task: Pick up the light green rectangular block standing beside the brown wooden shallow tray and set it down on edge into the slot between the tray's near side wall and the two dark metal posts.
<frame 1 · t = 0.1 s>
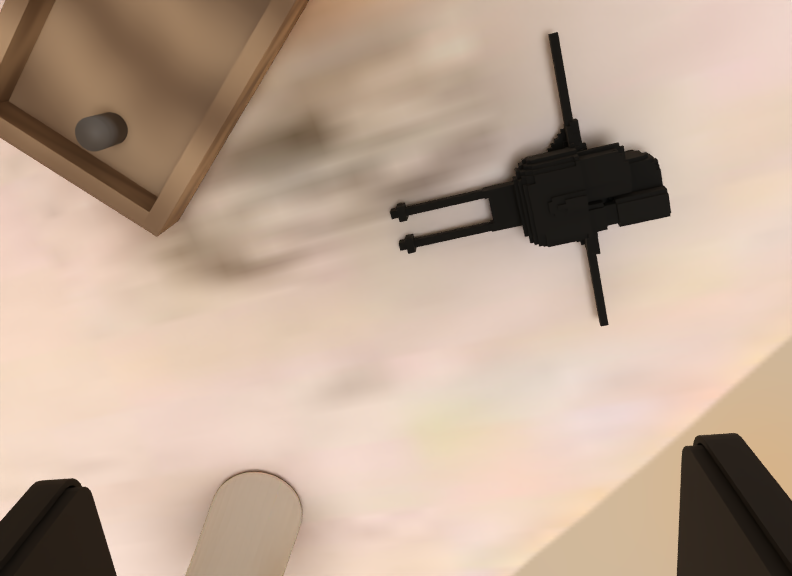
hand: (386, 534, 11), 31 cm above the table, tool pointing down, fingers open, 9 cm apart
toy 2: (264, 506, 49), on the table
toy: (518, 195, 41), on the table
brown wooden shallow tray: (151, 45, 38), on the table
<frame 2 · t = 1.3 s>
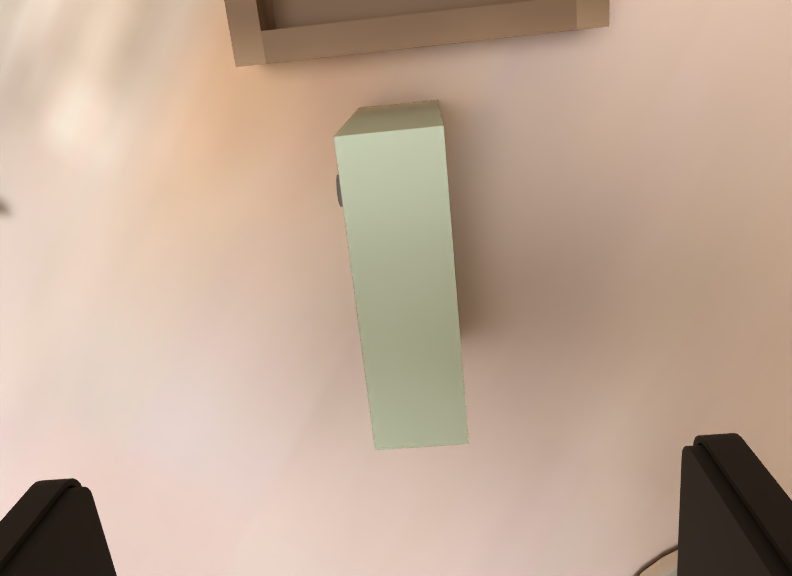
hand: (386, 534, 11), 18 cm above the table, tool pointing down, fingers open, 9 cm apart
light green rectangular block: (410, 230, 28), on the table
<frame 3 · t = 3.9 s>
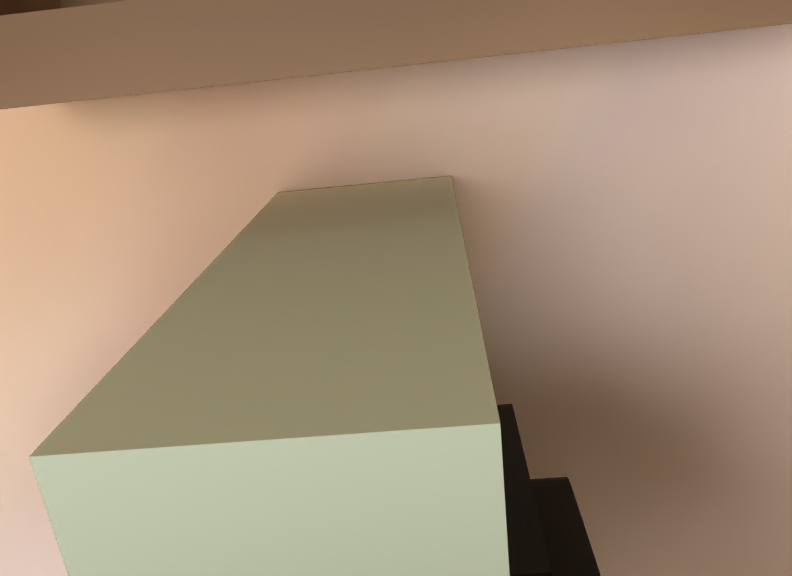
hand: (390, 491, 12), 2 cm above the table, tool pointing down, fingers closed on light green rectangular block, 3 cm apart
light green rectangular block: (394, 436, 13), on the table, touching gripper
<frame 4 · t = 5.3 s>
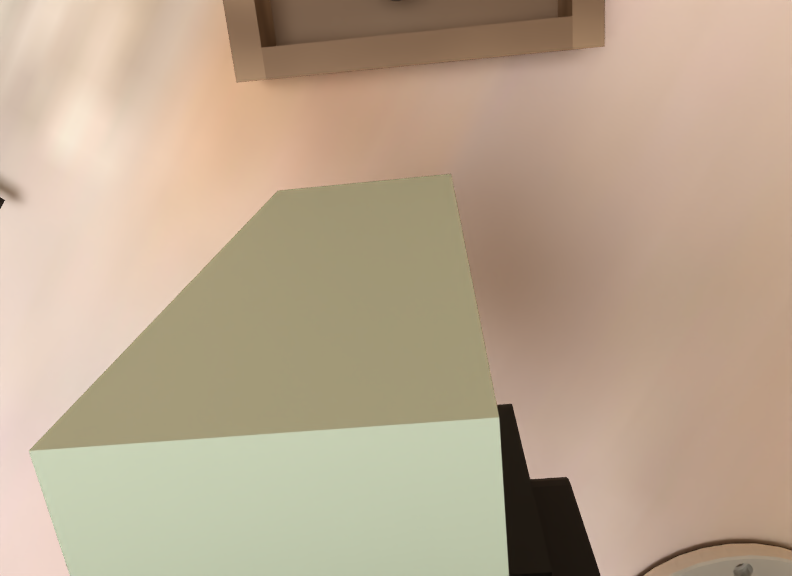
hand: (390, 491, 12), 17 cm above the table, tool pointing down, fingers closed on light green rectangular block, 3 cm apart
light green rectangular block: (394, 434, 13), point 15 cm above the table, touching gripper
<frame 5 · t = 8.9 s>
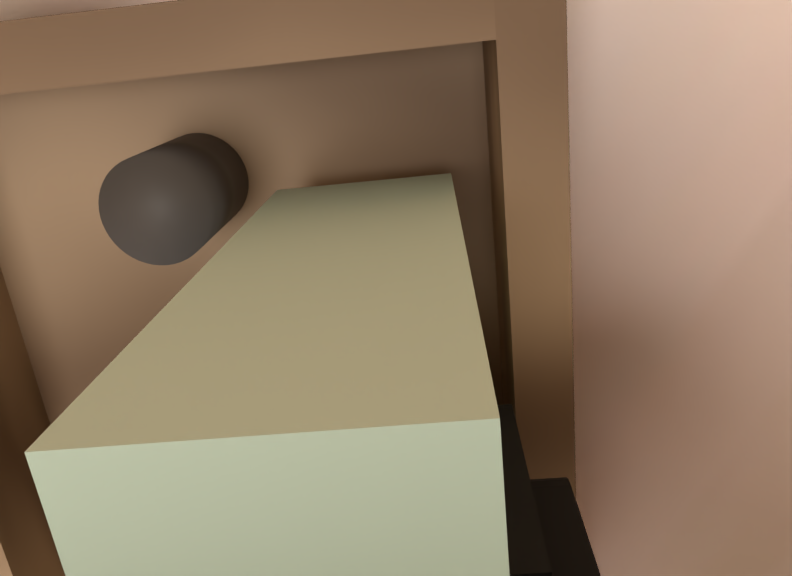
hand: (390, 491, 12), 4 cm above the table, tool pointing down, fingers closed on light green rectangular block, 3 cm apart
light green rectangular block: (394, 434, 13), point 2 cm above the table, touching gripper
brown wooden shallow tray: (279, 384, 16), on the table
when the fingers open (4 cm above the table, at t = 9.1 s): light green rectangular block drops 1 cm, resting on brown wooden shallow tray.
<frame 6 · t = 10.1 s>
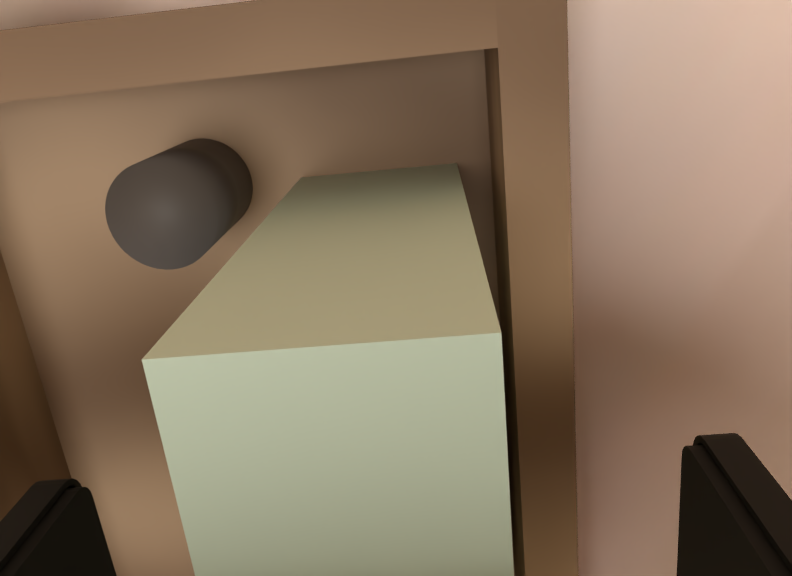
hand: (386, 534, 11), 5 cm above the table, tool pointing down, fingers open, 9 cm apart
light green rectangular block: (403, 400, 15), point 1 cm above the table, touching brown wooden shallow tray
brown wooden shallow tray: (282, 386, 16), on the table
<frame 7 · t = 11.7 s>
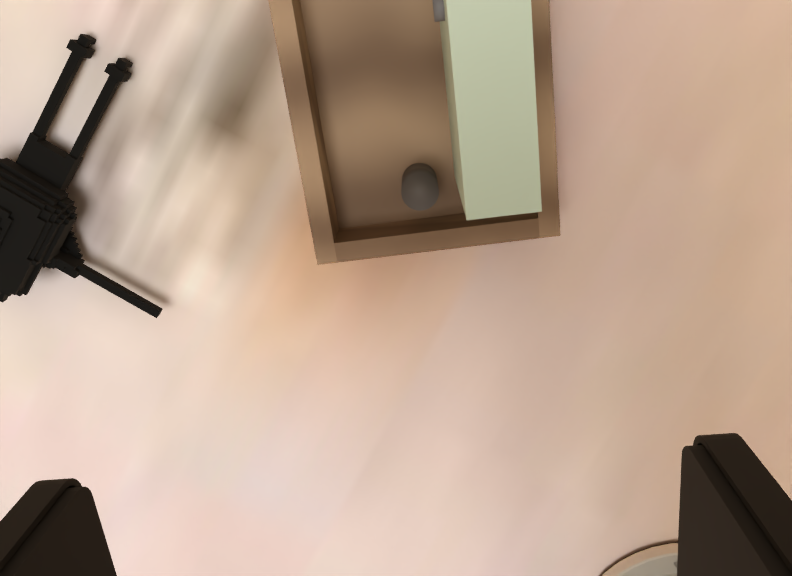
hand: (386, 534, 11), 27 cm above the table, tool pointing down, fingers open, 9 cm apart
toy: (55, 171, 37), on the table
light green rectangular block: (475, 70, 33), point 1 cm above the table, touching brown wooden shallow tray
brown wooden shallow tray: (417, 76, 34), on the table
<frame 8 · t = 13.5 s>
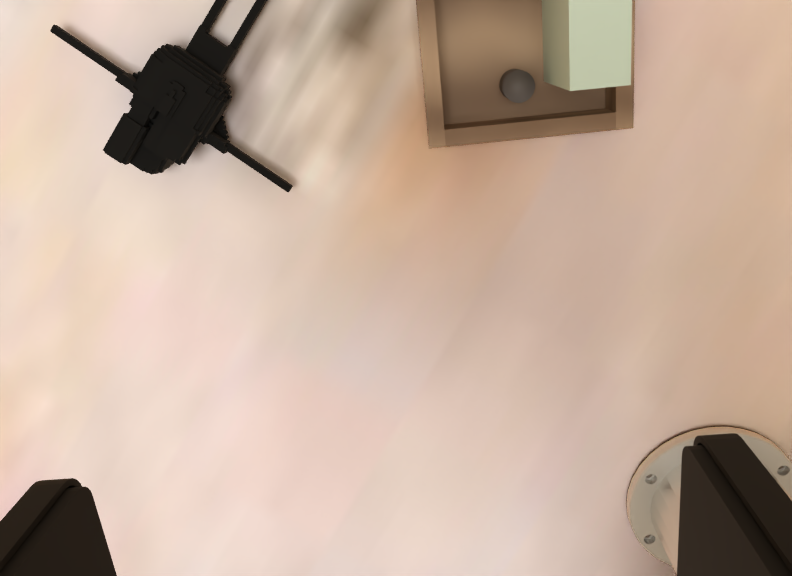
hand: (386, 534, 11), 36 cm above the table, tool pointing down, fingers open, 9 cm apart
toy: (210, 65, 44), on the table
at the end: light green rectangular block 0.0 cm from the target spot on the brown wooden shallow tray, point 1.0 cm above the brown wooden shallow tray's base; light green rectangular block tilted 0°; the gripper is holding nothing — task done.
